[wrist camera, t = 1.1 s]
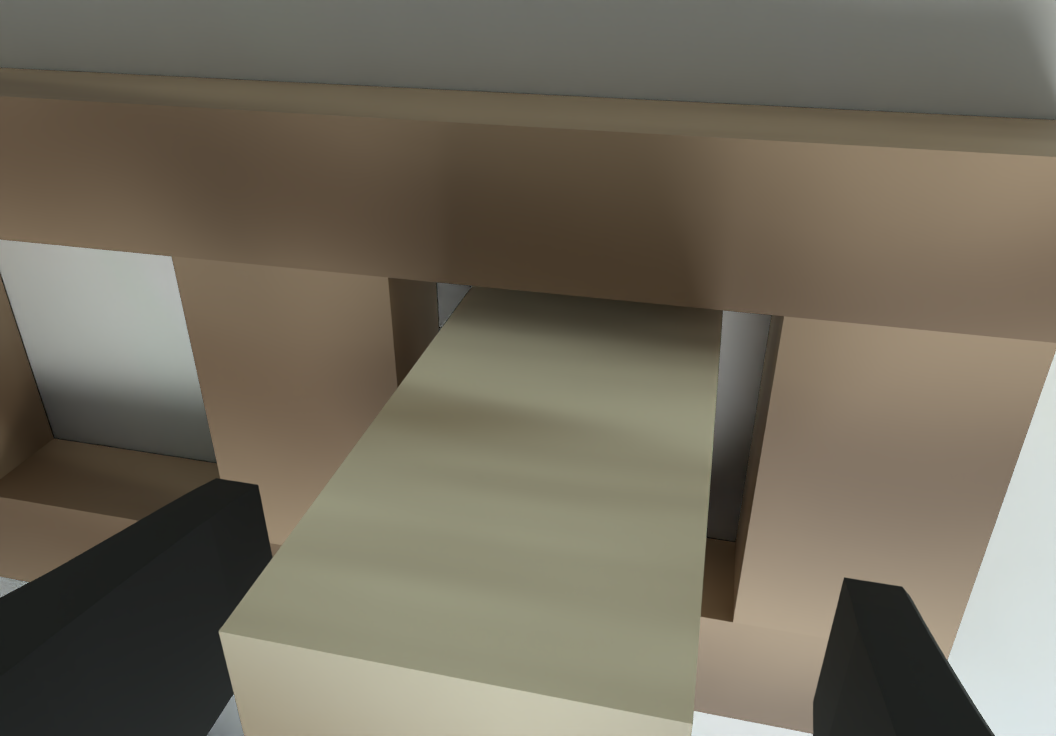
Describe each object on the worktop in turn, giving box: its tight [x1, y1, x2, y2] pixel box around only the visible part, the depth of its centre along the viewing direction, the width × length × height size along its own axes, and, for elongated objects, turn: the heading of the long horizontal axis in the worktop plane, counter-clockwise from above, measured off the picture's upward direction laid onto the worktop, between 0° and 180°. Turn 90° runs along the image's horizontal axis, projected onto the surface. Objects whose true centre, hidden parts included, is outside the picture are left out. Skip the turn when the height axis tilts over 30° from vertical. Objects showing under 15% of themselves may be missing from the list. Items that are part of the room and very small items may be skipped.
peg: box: [219, 286, 723, 736], centre depth 11 cm, size 4×4×8 cm
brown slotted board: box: [0, 68, 1056, 734], centre depth 15 cm, size 10×30×2 cm, turn 90°
